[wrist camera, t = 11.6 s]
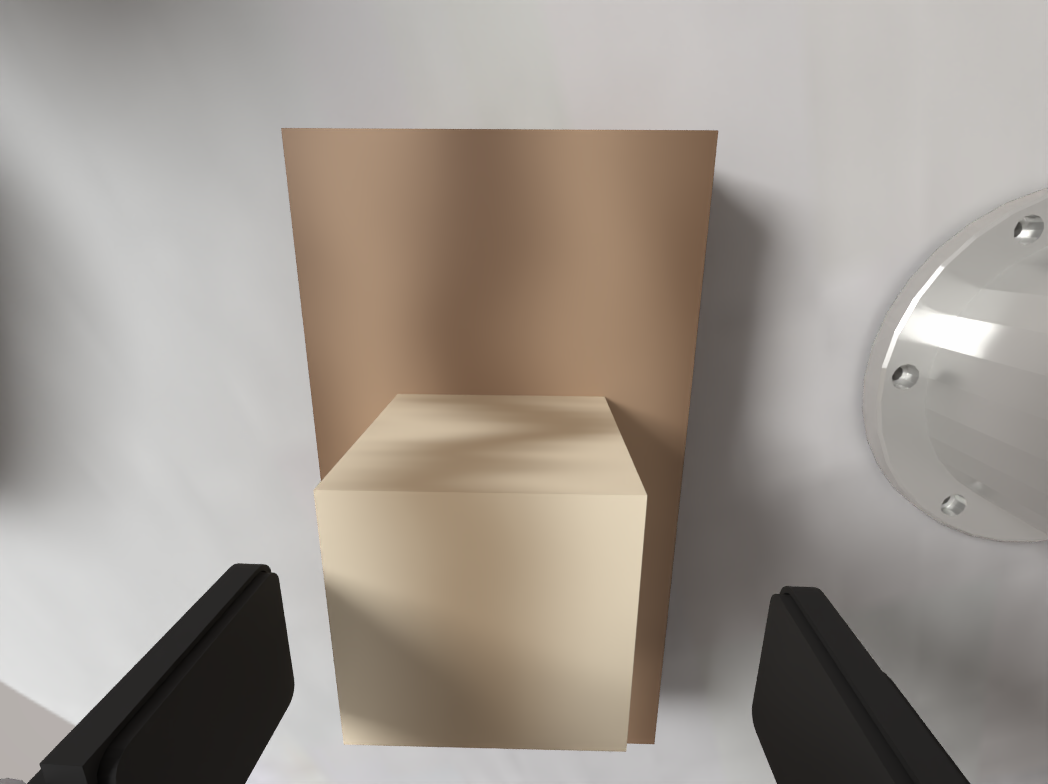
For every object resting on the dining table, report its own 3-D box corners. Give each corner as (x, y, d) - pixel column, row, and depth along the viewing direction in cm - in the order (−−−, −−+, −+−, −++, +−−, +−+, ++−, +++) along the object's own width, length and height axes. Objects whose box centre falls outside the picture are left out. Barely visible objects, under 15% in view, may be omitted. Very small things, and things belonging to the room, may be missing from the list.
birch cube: (604, 396, 15) (647, 495, 9) (595, 575, 17) (626, 751, 11) (397, 394, 15) (313, 490, 9) (409, 571, 17) (343, 744, 11)
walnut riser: (676, 154, 17) (718, 130, 13) (634, 657, 23) (654, 744, 19) (338, 152, 17) (281, 128, 13) (380, 651, 23) (349, 736, 19)
